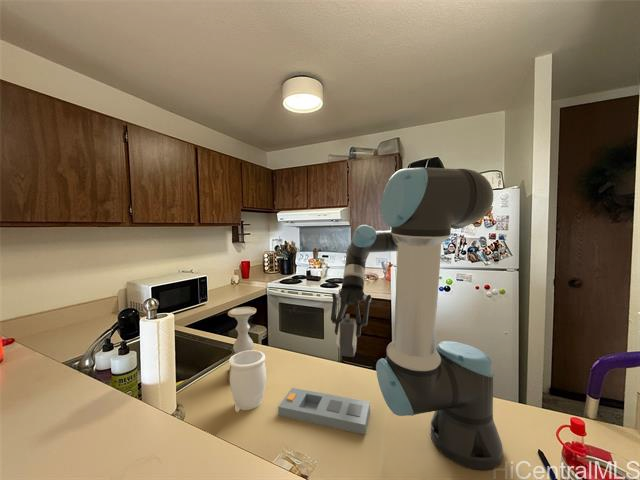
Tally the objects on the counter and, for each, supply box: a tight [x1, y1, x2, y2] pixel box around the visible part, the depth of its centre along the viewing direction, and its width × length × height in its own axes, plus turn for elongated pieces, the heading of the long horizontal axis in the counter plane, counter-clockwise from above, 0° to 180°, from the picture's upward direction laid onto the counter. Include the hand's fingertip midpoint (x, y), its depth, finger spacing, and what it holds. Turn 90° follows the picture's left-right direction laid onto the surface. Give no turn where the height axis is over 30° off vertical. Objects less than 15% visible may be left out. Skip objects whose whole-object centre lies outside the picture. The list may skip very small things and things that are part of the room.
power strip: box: [277, 387, 371, 435], centre depth 72 cm, size 24×9×4 cm, turn 72°
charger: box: [339, 313, 357, 358], centre depth 80 cm, size 4×5×12 cm
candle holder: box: [227, 306, 257, 385], centre depth 96 cm, size 11×11×24 cm
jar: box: [228, 349, 267, 413], centre depth 78 cm, size 11×10×15 cm
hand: (346, 345), depth 77 cm, fingers closed on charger, 4 cm apart
